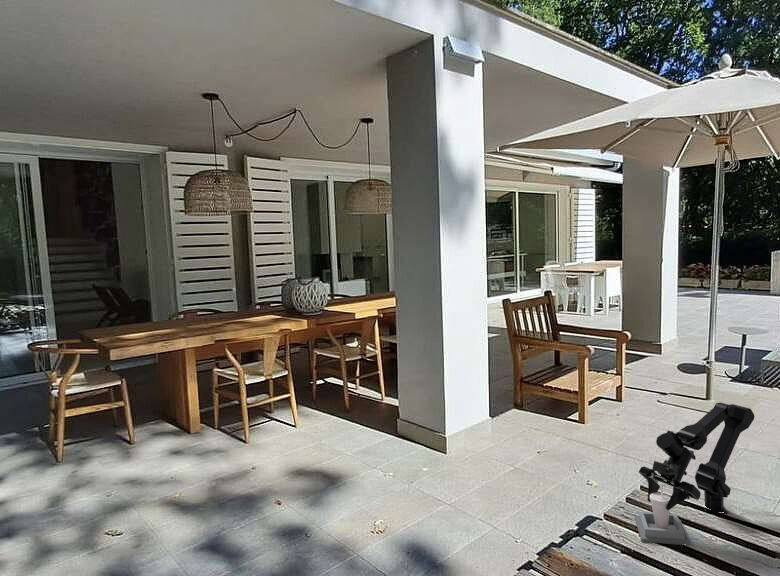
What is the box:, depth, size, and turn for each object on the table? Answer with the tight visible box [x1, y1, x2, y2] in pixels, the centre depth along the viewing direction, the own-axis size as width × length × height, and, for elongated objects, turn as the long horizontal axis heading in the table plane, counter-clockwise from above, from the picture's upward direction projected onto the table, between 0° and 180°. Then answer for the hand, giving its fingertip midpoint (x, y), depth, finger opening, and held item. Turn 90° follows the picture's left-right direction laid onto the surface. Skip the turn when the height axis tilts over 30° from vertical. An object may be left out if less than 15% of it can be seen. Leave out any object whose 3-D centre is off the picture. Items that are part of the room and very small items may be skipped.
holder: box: [634, 510, 691, 546], centre depth 172 cm, size 14×14×4 cm
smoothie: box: [650, 483, 671, 528], centre depth 172 cm, size 6×6×14 cm
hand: (657, 505), depth 171 cm, fingers closed on smoothie, 6 cm apart
